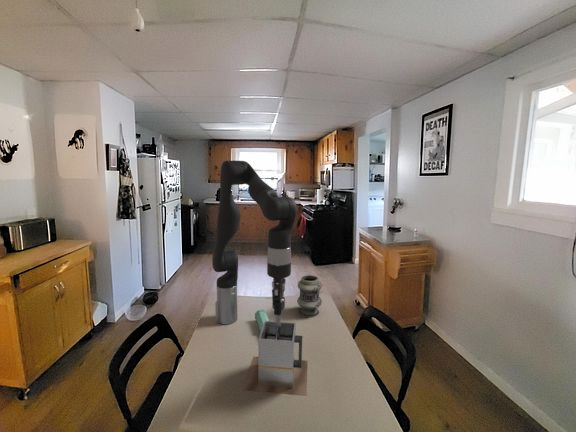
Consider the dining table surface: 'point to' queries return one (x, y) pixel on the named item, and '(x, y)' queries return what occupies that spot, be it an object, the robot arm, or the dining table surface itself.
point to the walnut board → (297, 389)
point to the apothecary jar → (309, 295)
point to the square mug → (278, 355)
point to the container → (261, 318)
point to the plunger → (278, 319)
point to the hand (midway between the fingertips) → (278, 310)
